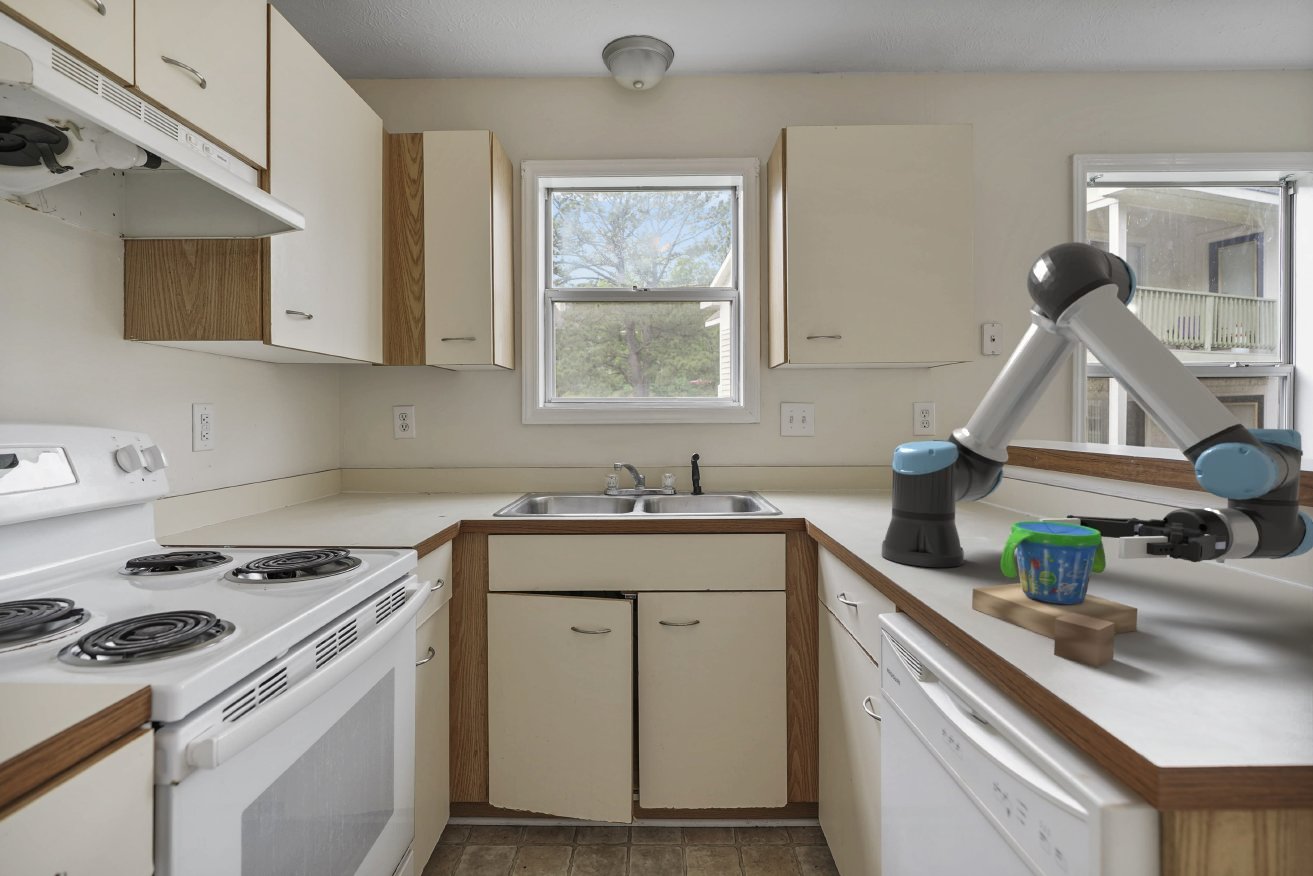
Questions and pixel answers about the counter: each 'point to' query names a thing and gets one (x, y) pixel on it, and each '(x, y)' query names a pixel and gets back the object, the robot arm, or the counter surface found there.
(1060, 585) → the snack cup
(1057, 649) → the walnut block
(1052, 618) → the oak base slab
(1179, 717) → the counter surface
